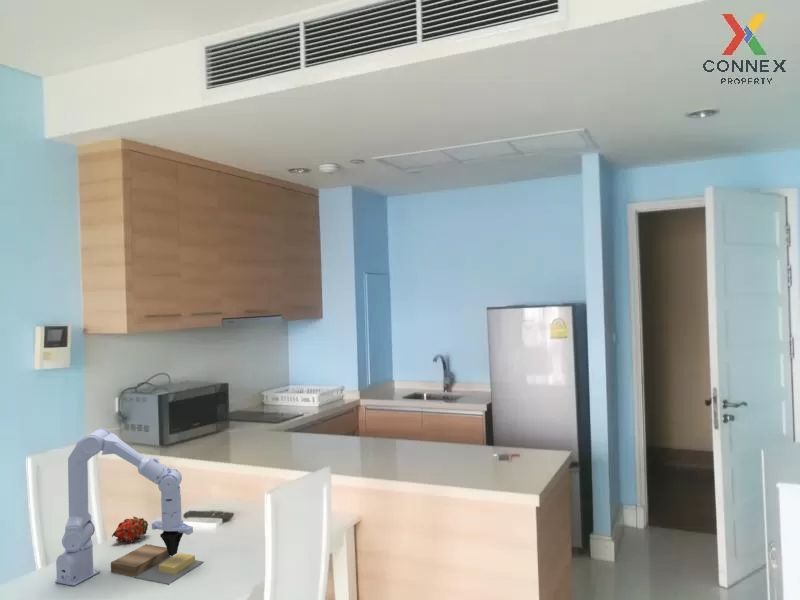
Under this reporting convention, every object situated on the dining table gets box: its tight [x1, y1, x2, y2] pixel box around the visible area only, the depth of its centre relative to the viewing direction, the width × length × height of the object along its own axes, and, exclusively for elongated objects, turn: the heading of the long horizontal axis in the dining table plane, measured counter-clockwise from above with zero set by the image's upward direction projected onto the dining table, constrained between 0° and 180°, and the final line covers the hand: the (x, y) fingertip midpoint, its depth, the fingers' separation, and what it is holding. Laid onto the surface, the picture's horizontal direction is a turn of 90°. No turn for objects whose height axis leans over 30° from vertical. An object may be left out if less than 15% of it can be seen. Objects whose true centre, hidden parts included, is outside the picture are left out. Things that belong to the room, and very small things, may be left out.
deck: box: [110, 543, 170, 578], centre depth 187 cm, size 14×10×3 cm
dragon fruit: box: [111, 516, 149, 543], centre depth 206 cm, size 8×8×12 cm
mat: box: [134, 555, 205, 586], centre depth 183 cm, size 15×13×1 cm
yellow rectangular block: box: [159, 552, 196, 574], centre depth 185 cm, size 9×6×2 cm, turn 158°
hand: (173, 554), depth 185 cm, fingers closed
